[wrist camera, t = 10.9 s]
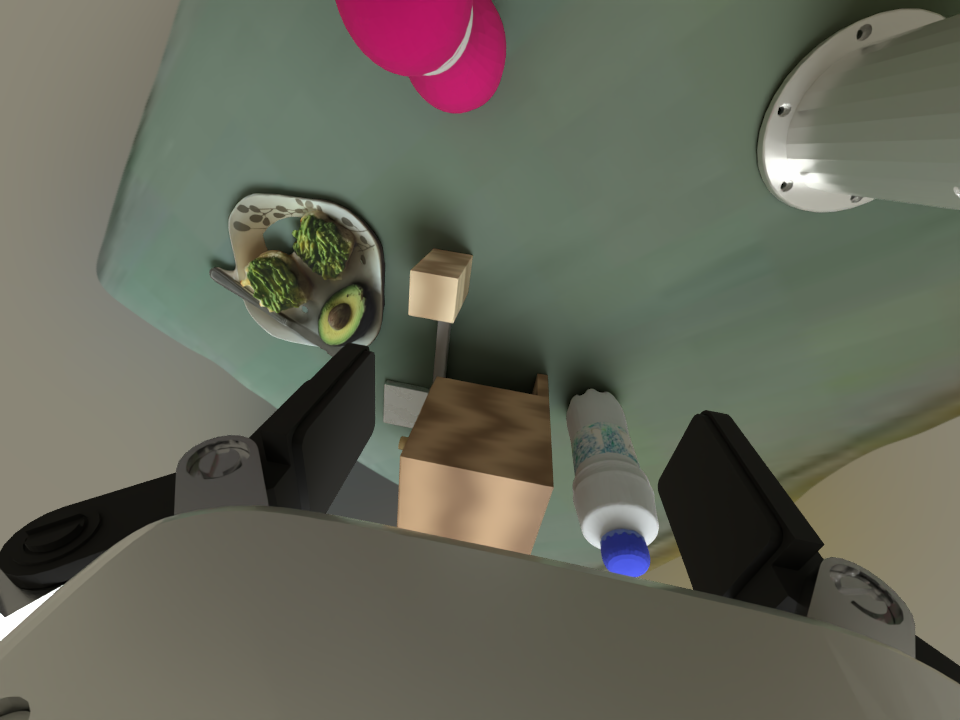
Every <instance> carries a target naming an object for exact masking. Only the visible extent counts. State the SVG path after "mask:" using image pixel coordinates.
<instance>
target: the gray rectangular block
mask: <svg viewBox="0 0 960 720" xmlns="http://www.w3.org/2000/svg"><path fill="white" fill-rule="evenodd" d="M429 391H430V388H425V387H420V386H415V385H410V384H405V383H400V382H396V381H391V380H387V381H386V383H385V384H384V421H383V422H385V423H389V424H394V425H399V426H404V427H409V428H413V426H414V424H415V422H416V420H417V417H418V415H419V413H420V411H421V408H422V406H423V404H424V402H425V400H426V397H427V395H428V393H429Z"/></svg>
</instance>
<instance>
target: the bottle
mask: <svg viewBox="0 0 960 720" xmlns="http://www.w3.org/2000/svg"><path fill="white" fill-rule="evenodd" d="M566 420H567V427H568V432H569V436H570V440H571V447H572V455H573V464H574V472H575V479H574V481H573V493H574V494H573V502H574V505H575V508H576V511H577V515H578V519H579V522H580V526H581V530H582V533H583V535H584V537H585V538H586V539H587V540H588V542H589V543H591V544H592V545H594V546H595V547H597V548H599V549H601V554H602V559H603V562H604V564H605V566H606V568H607V569H608V570H609V571H610V572H613V573H617V574H622V575H626V576H631V577H638V576H640V575H643V574H644V573H645V572H646V571H647V570H648V567H649V565H650V555H649V551H648V548H647V545H649V544H650V543H651V542H652V541H653V540H654V539H655V537H656V536H657V534H658V529H659V524H658V518H657V512H656V507H655V500H654V492H653V489H652V487H651V486H650V484H649V480H648V478H647V476H646V474H645V473H644V472H643V471H642V470H641V469H640V466H639V463H638V460H637V457H636V454H635V451H634V448H633V445H632V442H631V439H630V436H629V432H628V428H627V423H626V418H625V415H624V411H623V409H622V407H621V405H620V404H619V402H618V401H617V400H616V398H615V397H614V396H613V395H612V394H611V393H609V392H603V393H601V392H598V391H596V390H595V389H588V390H587V391H586V393H585V394H583V395H581V396H579V395H575V396H574V397H573V398H572V400H571V402H570V405H569V408H568V410H567V414H566Z"/></svg>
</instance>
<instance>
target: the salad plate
mask: <svg viewBox="0 0 960 720" xmlns="http://www.w3.org/2000/svg"><path fill="white" fill-rule="evenodd" d="M288 217H302V218H301V220H300V222H301V226H300V228H299V230H293V232H292V234H293V236H294V237H295V238H297V241H296V242H295V243H294V244H293V249H294V252H293V253H291V254H290V255H288V254H286V253H284V252H282V251H279V250H270V251H268V249H267V247H266V245H265V242H264V238H263V233H264V232H265V230H266V229H267V228H268V227H269V226H270V225H271V224H273V223H275V222H276V221H278V220H280V219H283V218H288ZM229 234H230V240H231V244H232V249H233V252H234V257H235V262H236V267H235V270H233V271H228V270H224V269H221V268H219V267H214V268H212V269H210V271H209V274H210V277H211V278H212V279H213V280H214V281H216V282H217V283H218V284H220V285H222V286H223V287H225V288H226V289H228V290H230V291H231V292H233V293H235V294H236V295H238V296H240V297H241V298H243V301H244V303H245V305H246V308H247V310H248V311H249V313H250V315H251V316H252V317H253V319H254V320H255V321H256V322H257V323H258V324H259V325H260V326H261V327H262V328H263V329H264V330H265V331H266V332H268V333H269V334H271V335H272V336H274V337H276V338H279V339H283V340H286V341H289V342H295V343H300V344H306V345H311V346H318V347H320V348H321V349H324V350H325V351H327V353H328V354H329V355H331V356H334V355H335V354H336V353H337V352H338V351H339V350H340V349H341V348H342V347H343V346H344V345H345V344H346V343H355V344H360V345H365V346H368V345H369V344H371V343H372V342H373V341H374V340H375V338H376V337H377V335H378V334H379V331H380V328H381V324H382V317H383V309H384V305H385V301H384V284H385V263H384V255H383V249H382V246H381V243H380V241H379V240H378V238H377V237H376V235H375V234H374V232H373V231H372V230H371V229H370V227H369V226H368V225H367V224H366V223H365V221H364V220H363V219H361V218H360V217H359V216H358V215H357V214H355V213H354V212H353V211H351V210H350V209H348V208H346V207H343V206H341V205H339V204H337V203H334V202H331V201H328V200H324V199H307V198H301V197H294V196H287V195H279V194H262V193H254V194H252V195H248V196H246V197H245V198H243V199H241V200H240V201H239V202H238V204H237V205H236V206H235V208H234V209H233V211H232V212H231V213H230V216H229ZM361 261H362V263H361ZM302 306H305V307H307V309H308V312H307V313H305V312H303V311H302Z"/></svg>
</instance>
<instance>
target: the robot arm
mask: <svg viewBox="0 0 960 720" xmlns="http://www.w3.org/2000/svg"><path fill="white" fill-rule="evenodd" d="M857 32H858V37H856V35H857ZM779 107H780V108H781V112H780V113H779V114H778V109H779ZM757 156H758V167H759V170H760V174H761V177H762V180H763V181H764V183H765V185H766V186H767V188H768V190H769V191H770V192H771V193H772V194H773V195H774V196H775V197H776V198H777V199H778V200H780V201H781V202H783V203H785V204H787V205H789V206H791V207H794V208H798V209H801V210H806V211H812V212H835V211H840V210H845V209H850V208H853V207H856V206H859V205H862V204H865V203H867V202H870V201H872V200H874V199H882V200H890V201H897V202H904V203H912V204H919V205H926V206H934V207H941V208H948V209H955V210H960V14H958V15H955V16H952V17H949V18H945V17H944V16H942V15H941V14H939V13H935V12H932V11H928V10H924V9H905V8H901V9H896V10H891V11H886V12H881V13H878V14H875V15H873V16H870V17H867V18H865V19H862V20H860V21H857V22H855V23H853V24H851V25H849V26H847V27H845V28H843V29H841V30H839V31H838V32H836V33H835V34H833V35H832V36H830V37H829V38H827V39H826V40H824V41H823V42H821V43H820V44H819V45H817V46H816V47H815V48H814V49H813V50H812V51H811V52H810V53H808V54H807V55H806V56H805V57H804V58H803V59H802V60H801V61H800V62H799V63H798V64H797V65H796V67H795V68H794V69H793V70H792V71H791V72H790V74H789V75H788V76H787V77H786V78H785V80H784V81H783V83H782V84H781V86H780V87H779V89H778V90H777V92H776V93H775V95H774V97H773V99H772V101H771V103H770V105H769V107H768V109H767V111H766V113H765V116H764V119H763V123H762V126H761V129H760V132H759V139H758V147H757ZM782 183H784V184H783V186H782V187H781V184H782ZM374 426H375V354H374V352H371V351H369V347H368V346H365V345H360V344H355V343H346V344H345V345H344V346H343V347H342V348H341V349H340V350H339V351H338V352H337V353H336V354H335V355H334V356H333V357H332V358H331V359H330V360H329V361H328V362H327V363H326V364H325V365H324V366H323V367H322V368H321V369H320V370H319V371H318V372H317V373H316V374H315V376H314V377H313V378H312V379H311V380H308V381H306V382H305V383H304V384H303V385H302V386H301V387H300V388H299V389H298V390H297V391H296V392H295V393H294V394H293V395H292V396H291V397H290V398H289V399H288V400H287V401H286V402H285V403H284V404H283V405H282V406H281V407H280V408H279V409H278V410H277V411H276V412H275V413H274V414H273V415H272V416H271V417H270V418H269V419H268V420H267V421H266V422H264V424H263V425H262V426H260V427H259V428H258V429H257V431H255V433H253V434H252V435H251V436H250V437H249V438H247V437H244V436H239V435H227V436H221V437H216V438H213V439H209V440H206V441H204V442H202V443H200V444H198V445H196V446H194V447H193V448H191V449H190V450H189V451H188V452H186V453H185V454H184V455H183V457H182V458H181V459H180V460H179V462H178V465H177V468H176V473H173V474H170V475H167V476H163V477H160V478H157V479H153V480H150V481H147V482H144V483H140V484H137V485H134V486H131V487H128V488H124V489H121V490H117V491H114V492H111V493H108V494H104V495H102V496H98V497H95V498H91V499H88V500H85V501H82V502H79V503H75V504H72V505H69V506H65V507H62V508H60V509H57V510H54V511H52V512H49V513H47V514H45V515H43V516H41V517H39V518H37V519H35V520H34V521H32V522H30V523H29V524H27V525H26V526H24V527H23V528H22V529H20V530H19V531H18V532H16V533H15V534H14V535H13V536H12V537H11V538H10V539H9V540H8V541H7V542H6V543H5V544H4V546H3V548H2V550H1V551H0V720H960V666H959V665H958V664H956V663H955V662H953V661H952V660H950V659H949V658H948V657H946V656H945V655H943V654H942V653H940V652H939V651H938V650H936V649H935V648H933V647H932V646H930V645H929V644H928V643H926V642H925V641H923V640H922V639H920V638H919V637H918V636H916V635H915V623H914V619H913V615H912V613H911V612H910V610H909V608H908V607H907V605H906V604H905V602H904V601H903V600H902V599H901V598H900V597H899V596H898V595H897V593H896V592H895V591H894V590H893V589H891V588H890V587H889V586H888V585H887V584H886V583H885V582H883V581H882V580H881V579H880V578H878V577H877V576H875V575H874V574H872V573H871V572H870V571H868V570H866V569H865V568H863V567H861V566H859V565H857V564H855V563H853V562H850V561H847V560H844V559H841V558H835V557H830V558H826V559H823V558H822V557H821V555H820V554H819V552H818V551H819V549H821V548H822V547H823V546H824V543H823V542H822V541H821V539H820V538H819V536H818V535H817V534H816V532H815V531H814V530H813V528H812V527H811V526H810V524H809V523H808V521H807V520H806V519H805V517H804V516H803V515H802V513H801V512H800V511H799V509H798V508H797V507H796V505H795V504H794V502H793V501H792V500H791V498H790V497H789V496H788V494H787V493H786V491H785V490H784V489H783V487H782V486H781V485H780V483H779V482H778V481H777V479H776V478H775V476H774V475H773V474H772V472H771V471H770V470H769V468H768V467H767V466H766V464H765V463H764V462H763V460H762V459H761V457H760V456H759V455H758V453H757V452H756V451H755V449H754V448H753V447H752V445H751V444H750V442H749V441H748V440H747V438H746V437H745V436H744V434H743V433H742V432H741V430H740V429H739V427H738V426H737V425H736V423H735V422H734V421H733V419H732V418H731V417H730V416H729V415H727V414H723V413H718V412H713V411H708V410H705V411H703V412H701V414H696V415H695V416H694V417H693V418H692V420H691V422H690V424H689V426H688V428H687V429H686V431H685V433H684V435H683V437H682V439H681V440H680V442H679V444H678V446H677V448H676V450H675V451H674V453H673V455H672V457H671V459H670V461H669V462H668V464H667V466H666V468H665V470H664V472H663V473H662V475H661V477H660V479H659V482H658V492H659V495H660V498H661V501H662V503H663V506H664V509H665V512H666V514H667V517H668V520H669V523H670V526H671V528H672V531H673V534H674V537H675V540H676V542H677V545H678V548H679V551H680V553H681V556H682V559H683V562H684V565H685V567H686V570H687V573H688V576H689V578H690V581H691V584H692V587H693V590H691V589H686V588H682V587H676V586H672V585H668V584H663V583H658V582H654V581H649V580H645V579H640V578H636V577H631V576H626V575H622V574H617V573H613V572H608V571H603V570H599V569H594V568H589V567H585V566H580V565H575V564H570V563H566V562H561V561H556V560H552V559H547V558H542V557H537V556H533V555H528V554H523V553H519V552H514V551H509V550H504V549H500V548H495V547H490V546H485V545H481V544H476V543H471V542H466V541H461V540H456V539H451V538H447V537H442V536H437V535H432V534H427V533H422V532H417V531H413V530H408V529H403V528H398V527H393V526H388V525H383V524H378V523H373V522H368V521H362V520H357V519H351V518H346V517H341V516H335V515H330V514H326V512H327V511H328V509H329V507H330V505H331V504H332V502H333V500H334V499H335V497H336V495H337V493H338V491H339V490H340V488H341V486H342V485H343V483H344V481H345V480H346V478H347V476H348V474H349V473H350V471H351V469H352V468H353V466H354V464H355V463H356V461H357V459H358V457H359V456H360V454H361V452H362V451H363V449H364V447H365V445H366V444H367V442H368V440H369V439H370V437H371V435H372V433H373V430H374Z"/></svg>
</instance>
